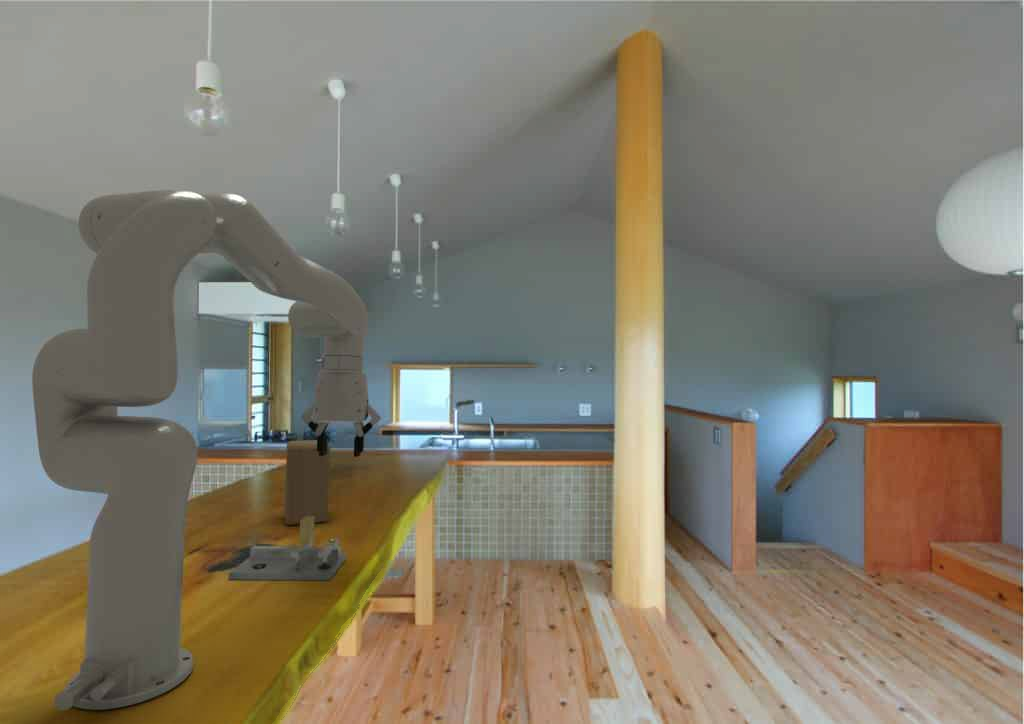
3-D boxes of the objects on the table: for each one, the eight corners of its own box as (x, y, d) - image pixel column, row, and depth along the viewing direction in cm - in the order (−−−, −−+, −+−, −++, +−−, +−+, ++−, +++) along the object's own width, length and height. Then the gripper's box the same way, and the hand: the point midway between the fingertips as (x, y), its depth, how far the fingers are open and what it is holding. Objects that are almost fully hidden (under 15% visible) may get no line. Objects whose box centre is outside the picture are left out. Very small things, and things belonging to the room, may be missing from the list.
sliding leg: (299, 568, 101) (300, 527, 101) (289, 568, 101) (290, 527, 101) (313, 553, 109) (314, 516, 109) (304, 553, 109) (305, 516, 109)
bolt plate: (329, 580, 99) (330, 553, 99) (228, 579, 98) (229, 552, 98) (346, 558, 111) (347, 534, 111) (256, 557, 110) (257, 533, 110)
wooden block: (283, 516, 143) (286, 440, 143) (324, 513, 147) (326, 439, 148) (285, 526, 134) (288, 444, 134) (328, 522, 138) (330, 443, 138)
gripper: (292, 364, 105) (289, 457, 104) (383, 366, 106) (380, 459, 105) (305, 365, 112) (302, 452, 112) (390, 367, 113) (387, 453, 112)
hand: (340, 454), depth 108 cm, fingers open, 6 cm apart
